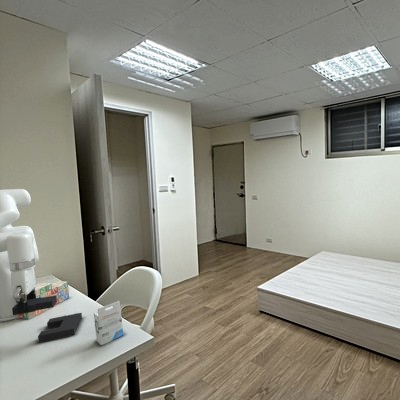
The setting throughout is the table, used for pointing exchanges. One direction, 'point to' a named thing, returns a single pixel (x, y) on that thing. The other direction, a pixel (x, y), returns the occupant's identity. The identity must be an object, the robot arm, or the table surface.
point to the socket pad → (61, 327)
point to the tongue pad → (38, 304)
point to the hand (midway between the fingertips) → (27, 307)
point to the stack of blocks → (48, 290)
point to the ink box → (108, 323)
